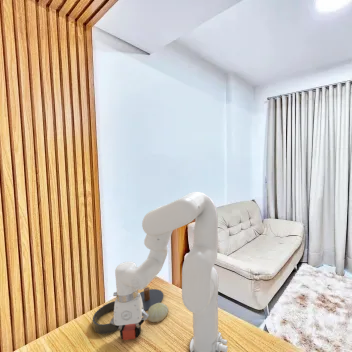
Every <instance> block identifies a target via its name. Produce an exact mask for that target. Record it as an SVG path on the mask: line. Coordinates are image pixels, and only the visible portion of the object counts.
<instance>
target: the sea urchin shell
mask: <svg viewBox="0 0 352 352" xmlns="http://www.w3.org/2000/svg"><path fill="white" fill-rule="evenodd" d="M146 313H147V314H148V315H149V317H148V319H147V320H148V321H149V322H150V323H159V322H162V321H163V320H164V319H165V318H166V317H167V316H168V314H169V307H168V306H167V305H166V304H165V303H163V302H161V303H156V304H154V305H152V306H151V307H150V308H149V310H148V311H146Z"/></svg>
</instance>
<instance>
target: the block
mask: <svg viewBox="0 0 352 352" xmlns="http://www.w3.org/2000/svg"><path fill="white" fill-rule="evenodd" d="M135 328H136V324H128V325H125V327H124V329H123V339H122V341H127V340H135V339H136V338H137V337H136V333H135Z"/></svg>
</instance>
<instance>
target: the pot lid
mask: <svg viewBox="0 0 352 352" xmlns="http://www.w3.org/2000/svg"><path fill="white" fill-rule="evenodd" d="M139 293H140V295H141V298H142V302H143V309H144V311H145V312H148V310H149V308H150V307H151V306H152V305H154V304H156V303H162V302H163V300H164V293H163V291H161V290H160V289H155V288H151V289H150V287H148V286H147V287H146V288H144V289H143V291H140V292H139Z"/></svg>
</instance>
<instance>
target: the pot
mask: <svg viewBox="0 0 352 352" xmlns="http://www.w3.org/2000/svg"><path fill="white" fill-rule="evenodd" d="M114 305H115V300H113V301H111V302H110V301H109V302H108V303H106V304H104V305H102V306H101V307H99V309H97V310H96V311H95V312H94V314H93V316H92V327H93V331H94V332H95V333H96V334H98V335H106V334H112V333H114V332H116V331H119V330H118V328H117V327H116V326H115V325H113V324H111V323H110V322H109V323H104V324H103V323H101V324H100V323H97V322H98V321H99V320H100V319H101V318H102V317H103V316H104V315H106V314H108V313H109V312H111V311H114Z"/></svg>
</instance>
